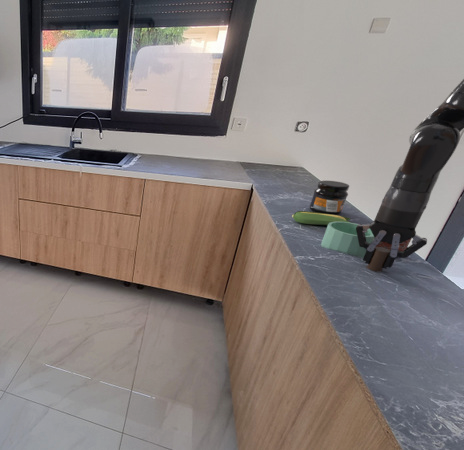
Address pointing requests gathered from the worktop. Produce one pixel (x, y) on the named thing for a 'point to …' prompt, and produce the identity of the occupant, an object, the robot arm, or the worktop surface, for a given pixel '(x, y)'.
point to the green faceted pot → (345, 238)
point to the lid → (378, 259)
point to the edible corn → (317, 218)
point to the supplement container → (329, 197)
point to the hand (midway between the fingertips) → (375, 264)
